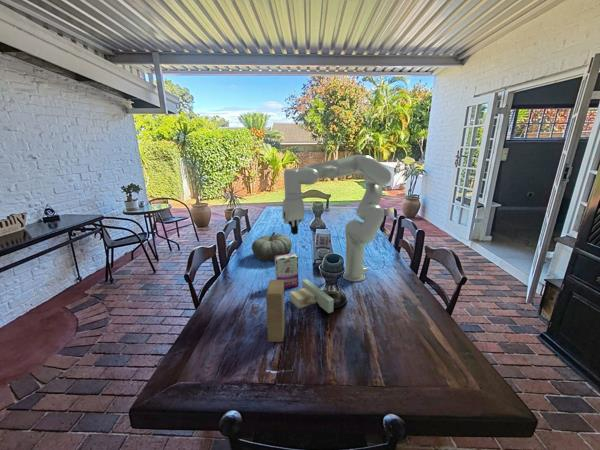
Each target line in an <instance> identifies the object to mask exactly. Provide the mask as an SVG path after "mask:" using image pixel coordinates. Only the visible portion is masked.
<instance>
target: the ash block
mask: <svg viewBox="0 0 600 450" xmlns="http://www.w3.org/2000/svg"><path fill="white" fill-rule="evenodd" d="M289 296H290V297H289V300H290V301H291V302H292V304H294V306H295V307H296V308H297V309H301V308H304V307H308V306H312V305H315V304H317V303H316V295H315V294H314V293H313V292H312V291H311V290H309V289H308V288H307V287H306V288H303V289H302V288H299V289H296V290H292V291H290V292H289Z"/></svg>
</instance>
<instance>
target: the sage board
mask: <svg viewBox="0 0 600 450" xmlns="http://www.w3.org/2000/svg"><path fill="white" fill-rule="evenodd" d="M301 284H302V285H301V289H303V288H306V287H307V288H308V289H309V290H311V291H312V292H313V293H314V294H315V295H316V302H317V303H318V304H319V305H318V304H317V303H316V304H317V305H318V306H319V307H320V308H321V309H323V310H324V311H325V312H326V313H327V314H330V313H333V312H334V306H335V305H334V303H335V302H334V301H335V299H334V298H333V297H331V296H330V295H329V294H327V292H326V293H325V291H324V290H322V289H320V288H319V287H318V286H317V285H315V284H314V283H313V282H311V280H308V279H307V278H305V279H302V281H301Z"/></svg>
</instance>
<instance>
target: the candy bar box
mask: <svg viewBox="0 0 600 450" xmlns="http://www.w3.org/2000/svg"><path fill="white" fill-rule="evenodd" d="M274 265H275V266H274V267H275V268H274V269H275V271H274V273H275V280H284V289H287V288H294V287H299V257H298V255H297V253H289V254H287V255H279V256H275V260H274Z"/></svg>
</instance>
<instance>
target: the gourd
mask: <svg viewBox="0 0 600 450" xmlns="http://www.w3.org/2000/svg"><path fill="white" fill-rule="evenodd" d="M292 247H293V246H292V240H291V238H290V237H288V236H287V235H286V234H285V233H284V234H283V233H280V232H279V233H276V232H275V231H273V232H272V234H271V235H264V236H260V237H258V238H257V239H255V240H254V241H253V242H252V243H251V250H252V252H253V253H252V254H253V255H254V257H256V258H257V259H259V260H260V261H262V262H267V261H272V262H275V256H279V255H287V254H291V250H292Z"/></svg>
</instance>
